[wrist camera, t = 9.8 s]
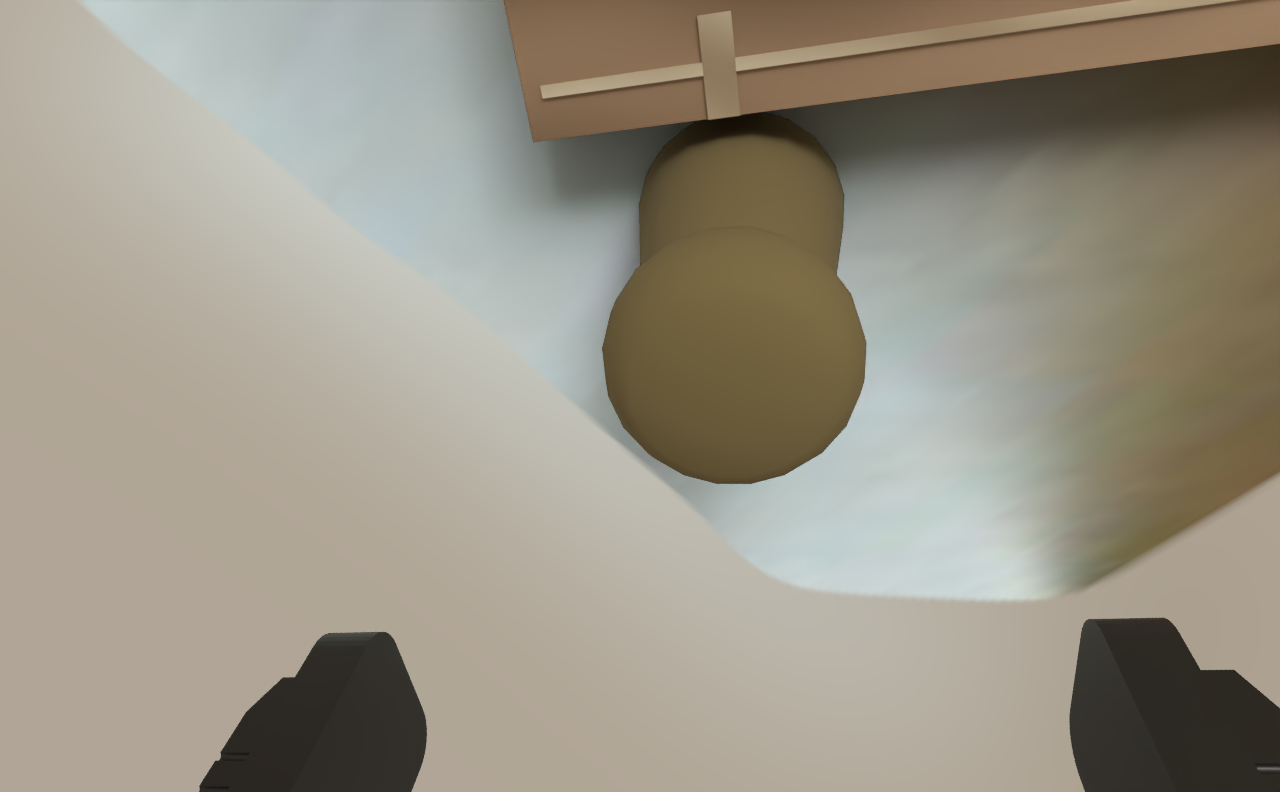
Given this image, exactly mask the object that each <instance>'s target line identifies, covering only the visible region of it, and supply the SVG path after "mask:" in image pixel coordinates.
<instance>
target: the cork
mask: <svg viewBox="0 0 1280 792" xmlns="http://www.w3.org/2000/svg"><path fill="white" fill-rule="evenodd" d="M843 214H844V193H843V190H842V186H841V183H840V180H839V177H838V173H837V170H836V167H835V164H834V163H833V161H832V160H831V159H830V157H829V156H828V155H827V153H826V152H825V151H824V149H823V148H822V146H821V145H820V144H819V142H818V141H817V140H816V138H814V137H813V136H811V135H810V134H809V133H807V132H806V131H804V130H803V129H801V128H800V127H798V126H797V125H795V124H794V123H792V122H791V121H789V120H788V119H785V118H781V117H777V116H774V115H770V114H766V113H763V112H758V113H750V114H743V115H740V116H734V117H726V118H719V119H711V120H708V119H705V120H701V121H698V122H696V123H693V124H691V125H689V126H687V127H686V128H685V129H684V130H683V131H681V132H680V133H679V134H678V135H677V136H676V137H674V138H673V139H672V140H671V141H670V142H668V143H667V144H666V145H665V146H664V147H663V148H662V150H661V151H660V153H659V155H658V156H657V158H656V160H655V161H654V163H653V164H652V166H651V168H650V169H649V171H648V172H647V174H646V178H645V182H644V186H643V191H642V195H641V199H640V203H639V223H640V267H638V268H637V269H636V270H635V272H634V273H633V275H632V276H631V278H630V280H629V281H628V283H627V284H626V286H625V287H624V289H623V290H622V292H621V293H620V295H619V296H618V298H617V299H616V301H615V303H614V306H613V308H612V311H611V314H610V318H609V322H608V326H607V330H606V335H605V339H604V343H603V347H602V351H603V360H604V368H605V377H606V385H607V391H608V396H609V399H610V401H611V403H612V405H613V407H614V409H615V411H616V413H617V415H618V417H619V419H620V421H621V423H622V425H623V427H624V429H625V430H626V431H627V432H628V433H629V434H630V435H631V436H632V437H633V438H634V439H635V440H636V441H637V442H638V443H639V444H640V445H641V446H642V447H643V448H644V449H645V451H646V452H647V453H648V454H650V455H651V456H652V457H654V458H655V459H657V460H659V461H660V462H662V463H664V464H666V465H667V466H669V467H671V468H673V469H674V470H676V471H678V472H679V473H681V474H683V475H686V476H690V477H693V478H697V479H701V480H705V481H709V482H712V483H716V484H752V483H756V482H759V481H763V480H767V479H771V478H775V477H779V476H782V475H785V474H787V473H789V472H790V471H792V470H794V469H795V468H797V467H799V466H800V465H802V464H804V463H806V462H807V461H809V460H811V459H812V458H814V457H816V456H818V455H819V454H821V453H822V452H823V451H824V450H825V449H826V448H827V447H828V446H829V445H830V443H831V442H832V441H833V440H834V439H835V438H836V437H837V436H838V435H839V434H840V432H841V431H842V430H843V429H844V428H845V427H846V426H847V423H848V421H849V419H850V416H851V414H852V412H853V410H854V407H855V405H856V403H857V400H858V398H859V396H860V393H861V390H862V387H863V383H864V378H865V360H866V340H865V336H864V333H863V330H862V327H861V323H860V320H859V317H858V314H857V311H856V308H855V304H854V301H853V298H852V295H851V293H850V292H849V291H848V289H847V288H846V287H845V285H844V284H843V283H842V282H841V280H840V279H839V278H838V276H837V268H838V261H839V253H840V246H841V238H842V231H843Z"/></svg>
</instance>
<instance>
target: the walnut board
mask: <svg viewBox="0 0 1280 792" xmlns="http://www.w3.org/2000/svg"><path fill="white" fill-rule="evenodd" d="M504 4H505V9H506V14H507V19H508V23H509V28H510V33H511V38H512V42H513V47H514V52H515V57H516V62H517V66H518V71H519V76H520V81H521V86H522V90H523V95H524V100H525V105H526V110H527V114H528V119H529V124H530V129H531V133H532V138H533V142H538V141H546V140H553V139H561V138H568V137H576V136H584V135H591V134H599V133H606V132H614V131H621V130H629V129H637V128H644V127H652V126H659V125H667V124H675V123H682V122H690V121H697V120H705V119H708V120H711V119H719V118H726V117H734V116H740V115H743V114H750V113H758V112H765V111H773V110H781V109H788V108H796V107H803V106H811V105H819V104H826V103H834V102H841V101H849V100H856V99H864V98H872V97H879V96H887V95H894V94H902V93H910V92H917V91H925V90H932V89H940V88H947V87H955V86H963V85H970V84H978V83H985V82H993V81H1001V80H1008V79H1016V78H1023V77H1031V76H1038V75H1046V74H1054V73H1061V72H1069V71H1076V70H1084V69H1092V68H1099V67H1107V66H1114V65H1122V64H1129V63H1137V62H1145V61H1152V60H1160V59H1167V58H1175V57H1183V56H1190V55H1198V54H1205V53H1213V52H1220V51H1228V50H1236V49H1243V48H1251V47H1258V46H1266V45H1274V44H1280V0H504Z"/></svg>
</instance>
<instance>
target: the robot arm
mask: <svg viewBox="0 0 1280 792" xmlns="http://www.w3.org/2000/svg"><path fill="white" fill-rule="evenodd" d="M1070 736H1071V743H1072V749H1073V754H1074V758H1075V763H1076V766H1077V769H1078V773H1079V776H1080V779H1081V781H1082V784H1083V787H1084V790H1085V792H1280V708H1279V707H1278V706H1276V705H1275V704H1274V703H1273V702H1272V701H1270V700H1269V699H1268V698H1267V697H1266V696H1264V695H1263V694H1262V693H1261V692H1260V691H1258V690H1257V689H1256V688H1255V687H1254V686H1252V685H1251V684H1250V683H1249V682H1248V681H1247V680H1245V679H1244V678H1243V677H1242V676H1241V675H1239V674H1238V673H1237V672H1236V671H1235V670H1200V668H1199V666H1198V665H1197V663H1196V661H1195V659H1194V658H1193V656H1192V654H1191V653H1190V651H1189V649H1188V647H1187V646H1186V644H1185V642H1184V640H1183V639H1182V637H1181V635H1180V633H1179V632H1178V630H1177V629H1176V627H1175V626H1174V625H1173V624H1172V623H1171V622H1170V621H1169V620H1168V619H1165V618H1130V619H1088V620H1086V622H1085V623H1084V625H1083V628H1082V632H1081V639H1080V646H1079V653H1078V660H1077V666H1076V674H1075V681H1074V687H1073V694H1072V701H1071V708H1070ZM426 737H427V728H426V719H425V715H424V712H423V709H422V706H421V704H420V701H419V699H418V696H417V694H416V692H415V689H414V687H413V685H412V682H411V680H410V677H409V675H408V672H407V670H406V667H405V665H404V663H403V660H402V657H401V655H400V653H399V650H398V648H397V645H396V643H395V641H394V639H393V638H392V637H391V635H389V634H388V633H386V632H362V633H361V632H360V633H328V634H325V635H324V636H322V637H321V638H320V639H319V640H318V641H317V642H316V644H315V645H314V647H313V648H312V650H311V652H310V653H309V655H308V656H307V658H306V660H305V661H304V663H303V665H302V667H301V668H300V670H299V671H298V673H297V675H296V677H294V678H293V677H292V678H291V677H290V678H282V679H281V680H280V681H279V682H278V683H277V684H276V685H275V686H273V687H272V688H271V689H270V690H269V691H268V692H267V693H266V694H265V695H264V696H263V697H262V698H261V699H260V700H259V701H258V702H257V703H255V704H254V705H253V706H252V707H251V708H250V709H249V710H248V711H247V712H246V713H245V715H244V716H243V718H242V719H241V721H240V723H239V724H238V726H237V727H236V729H235V731H234V732H233V734H232V735H231V737H230V738H229V740H228V742H227V743H226V745H225V746H224V748H223V749H222V751H221V758H220V760H219V761H215V762H214V764H213V765H212V767H211V769H210V770H209V772H208V773H207V775H206V776H205V778H204V779H203V781H202V783H201V785H200V786H199V787H200V791H199V792H411V791H412V789H413V786H414V783H415V781H416V778H417V776H418V773H419V771H420V768H421V765H422V762H423V758H424V754H425V749H426Z"/></svg>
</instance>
